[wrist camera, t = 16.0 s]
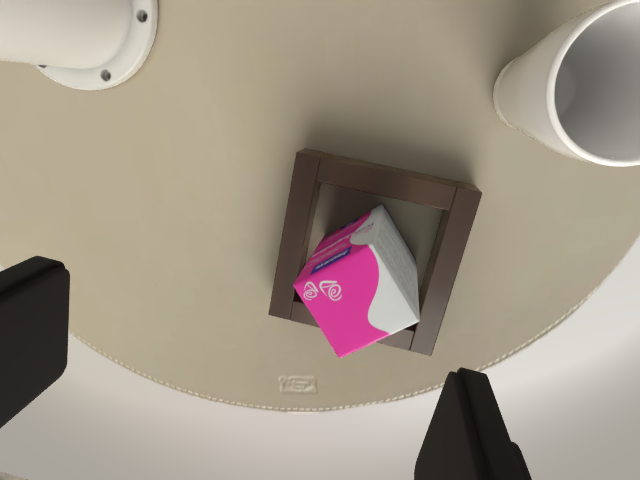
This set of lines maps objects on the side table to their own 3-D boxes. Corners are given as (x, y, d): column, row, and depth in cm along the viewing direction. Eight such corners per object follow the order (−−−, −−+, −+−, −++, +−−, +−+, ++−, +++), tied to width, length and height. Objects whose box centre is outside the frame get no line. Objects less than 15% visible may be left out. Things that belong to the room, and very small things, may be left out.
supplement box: (381, 199, 36) (374, 240, 25) (417, 261, 37) (425, 326, 26) (320, 233, 38) (289, 286, 27) (356, 291, 39) (341, 365, 28)
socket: (277, 300, 40) (268, 315, 37) (304, 148, 36) (296, 151, 33) (428, 338, 39) (431, 356, 36) (475, 185, 34) (482, 192, 32)
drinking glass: (523, 20, 31) (632, -50, 17) (604, 76, 31) (779, 54, 17) (460, 107, 33) (509, 109, 19) (536, 159, 33) (640, 200, 19)
